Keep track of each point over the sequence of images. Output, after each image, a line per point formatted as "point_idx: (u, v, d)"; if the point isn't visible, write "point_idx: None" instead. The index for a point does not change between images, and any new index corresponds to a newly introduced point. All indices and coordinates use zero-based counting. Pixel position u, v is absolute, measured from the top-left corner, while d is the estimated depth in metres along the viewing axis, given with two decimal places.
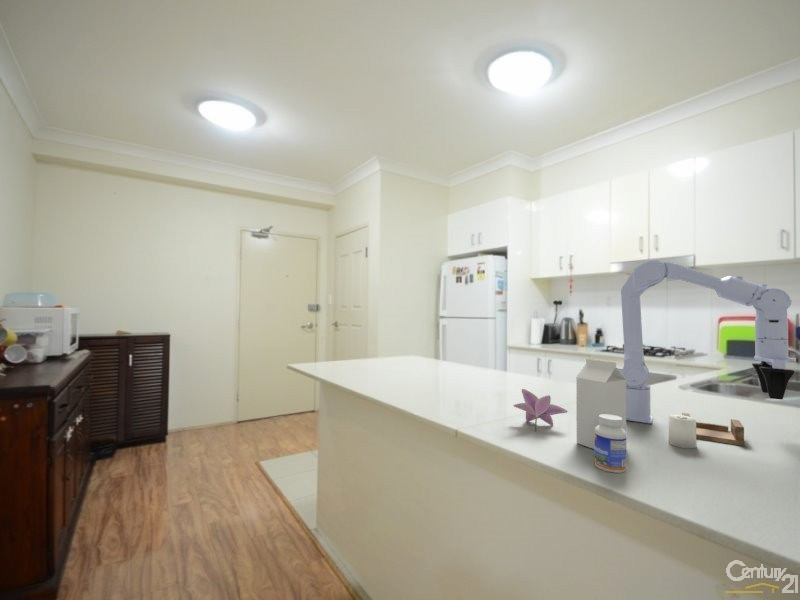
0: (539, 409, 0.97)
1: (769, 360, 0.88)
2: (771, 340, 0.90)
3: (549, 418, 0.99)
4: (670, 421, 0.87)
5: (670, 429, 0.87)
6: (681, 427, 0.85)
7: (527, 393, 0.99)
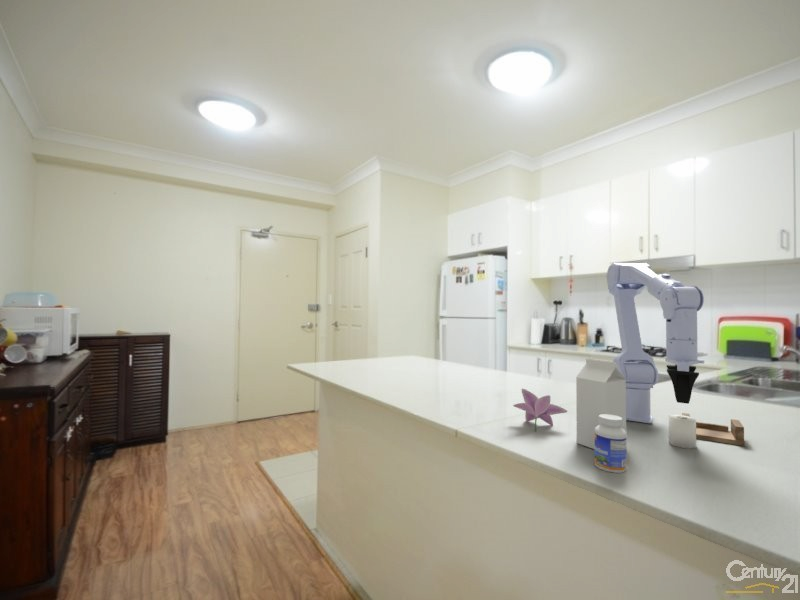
0: (539, 408, 0.97)
1: (675, 362, 0.83)
2: (679, 341, 0.85)
3: (549, 418, 0.99)
4: (670, 421, 0.87)
5: (670, 429, 0.87)
6: (681, 427, 0.85)
7: (527, 393, 0.99)
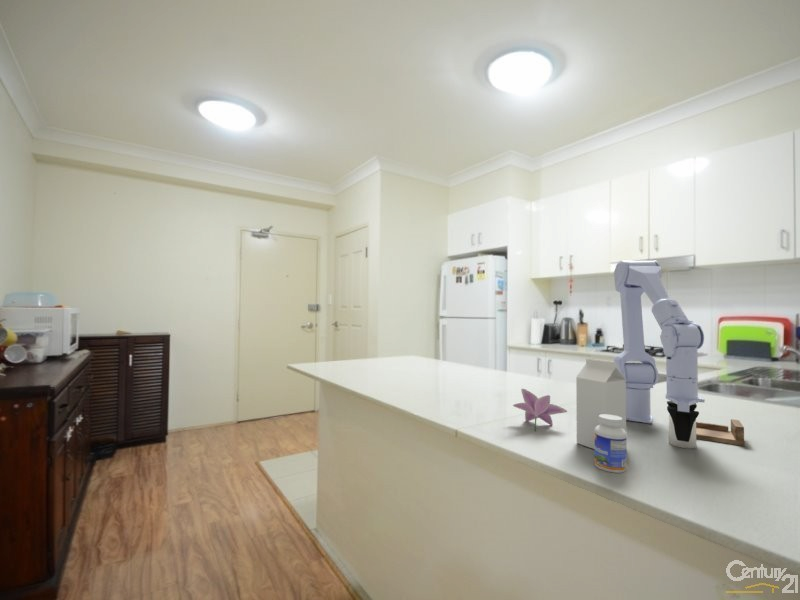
0: (539, 408, 0.98)
1: (675, 401, 0.83)
2: (679, 379, 0.85)
3: (548, 418, 0.99)
4: (670, 421, 0.87)
5: (670, 429, 0.87)
6: None
7: (527, 393, 0.99)
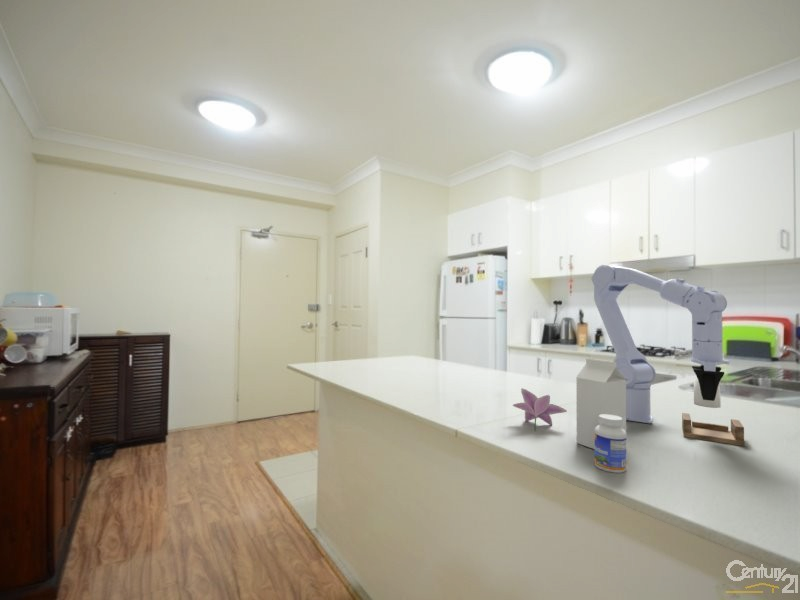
0: (538, 408, 0.98)
1: (702, 362, 0.89)
2: (705, 342, 0.90)
3: (548, 418, 1.00)
4: (696, 383, 0.92)
5: (696, 391, 0.92)
6: None
7: (526, 393, 0.99)
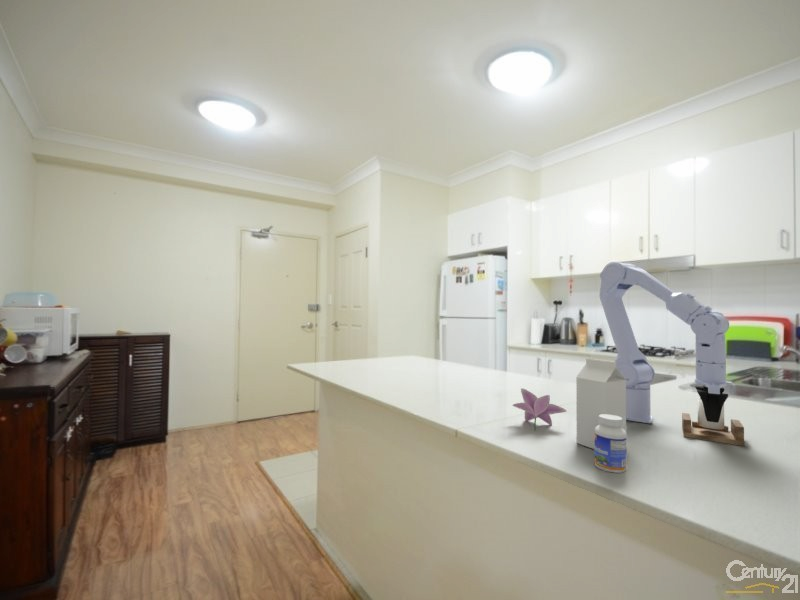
0: (538, 408, 0.98)
1: (706, 384, 0.89)
2: (709, 364, 0.91)
3: (548, 417, 1.00)
4: (700, 404, 0.93)
5: (700, 412, 0.93)
6: None
7: (526, 393, 0.99)
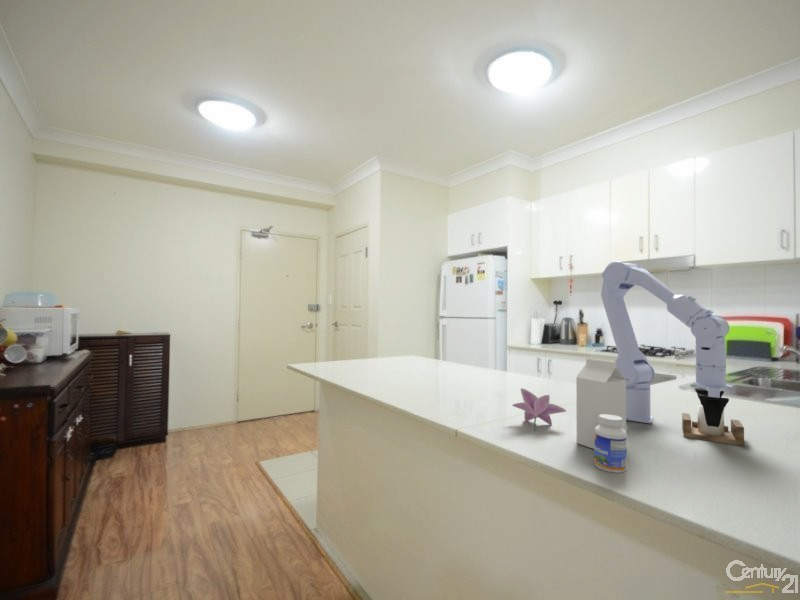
0: (538, 408, 0.98)
1: (706, 388, 0.89)
2: (709, 368, 0.91)
3: (548, 417, 1.00)
4: (700, 410, 0.93)
5: (700, 418, 0.93)
6: None
7: (526, 393, 0.99)
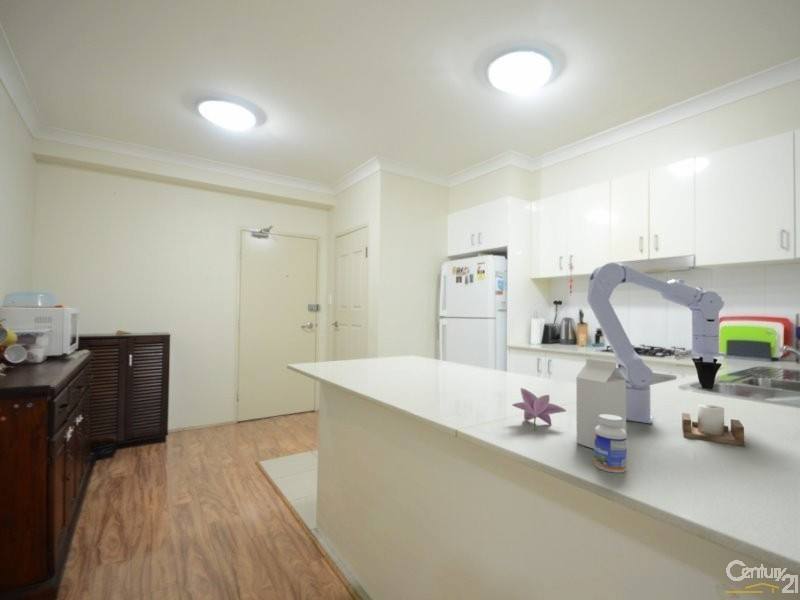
0: (538, 408, 0.98)
1: (701, 354, 1.00)
2: (704, 337, 1.02)
3: (547, 417, 1.00)
4: (700, 410, 0.93)
5: (700, 418, 0.93)
6: (711, 415, 0.91)
7: (526, 393, 0.99)
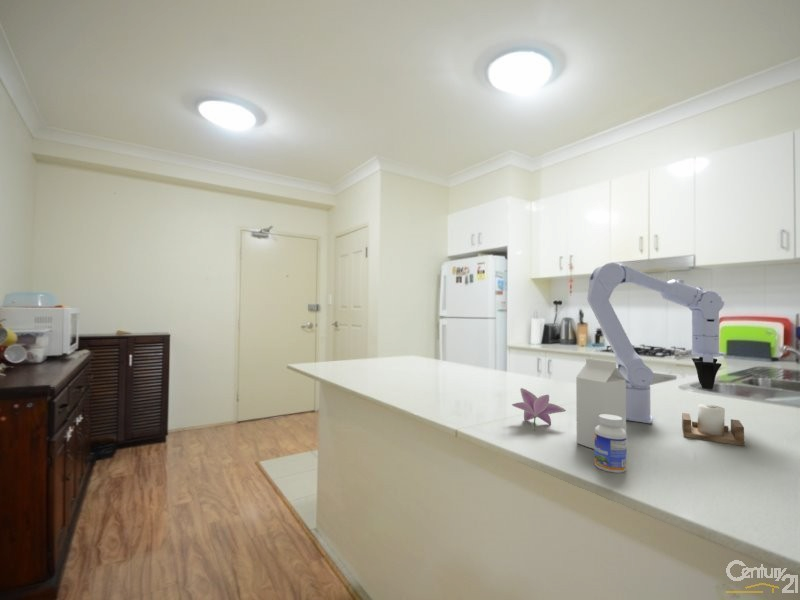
0: (537, 408, 0.98)
1: (701, 354, 1.00)
2: (704, 337, 1.02)
3: (547, 417, 1.00)
4: (700, 410, 0.93)
5: (700, 418, 0.93)
6: (711, 415, 0.91)
7: (526, 393, 0.99)
